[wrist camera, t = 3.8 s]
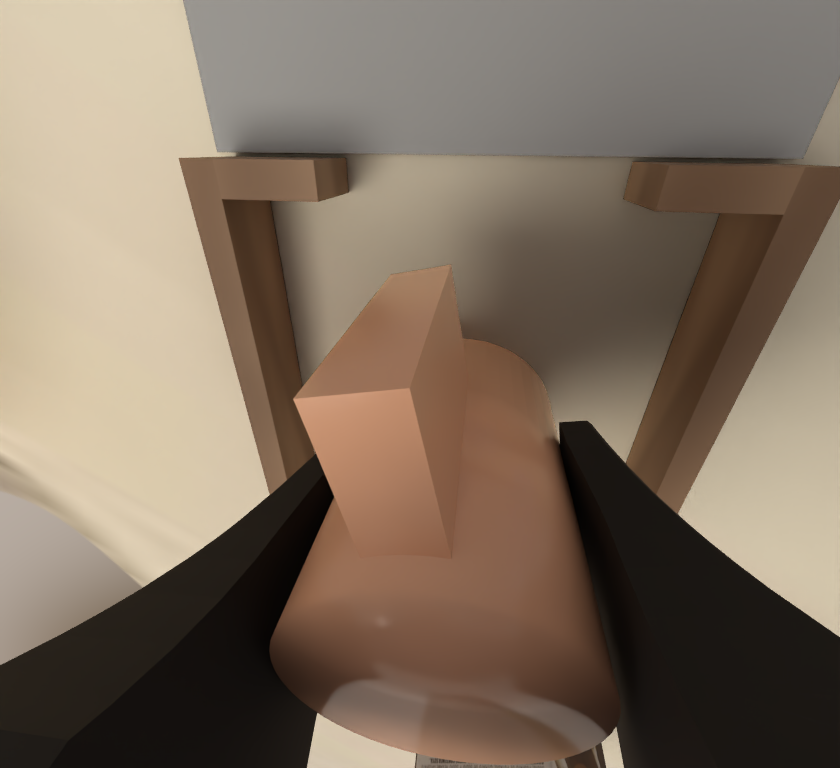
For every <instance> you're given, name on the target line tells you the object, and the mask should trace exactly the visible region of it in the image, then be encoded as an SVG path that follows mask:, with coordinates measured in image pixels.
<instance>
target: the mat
mask: <svg viewBox="0 0 840 768" xmlns="http://www.w3.org/2000/svg"><path fill="white" fill-rule="evenodd" d="M183 2H184V6H185V11H186V15H187V20H188V24H189V29H190V33H191V37H192V42H193V46H194V51H195V55H196V60H197V64H198V69H199V73H200V77H201V82H202V86H203V91H204V95H205V100H206V104H207V109H208V113H209V118H210V122H211V126H212V131H213V135H214V140H215V144H216V149H217V152H259V153H345V154H431V155H517V156H603V157H689V158H775V159H803V158H804V156H805V153H806V151H807V149H808V147H809V144H810V142H811V140H812V138H813V135H814V133H815V131H816V129H817V127H818V124H819V122H820V120H821V118H822V115H823V113H824V111H825V109H826V106H827V104H828V102H829V100H830V98H831V95H832V93H833V91H834V89H835V86H836V84H837V82H838V80H839V78H840V0H183Z"/></svg>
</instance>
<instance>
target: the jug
mask: <svg viewBox="0 0 840 768" xmlns="http://www.w3.org/2000/svg"><path fill="white" fill-rule="evenodd" d="M293 400H294V402H295V405H296V407H297V409H298V412H299V414H300V416H301V419H302V421H303V424H304V426H305V428H306V431H307V433H308V435H309V438H310V440H311V442H312V445H313V447H314V450H315V452H316V454H317V457H318V459H319V461H320V464H321V466H322V469H323V471H324V473H325V476H326V478H327V480H328V483H329V485H330V487H331V490H332V492H333V495H334V498H333V501H332V503H331V505H330V507H329V510H328V512H327V514H326V516H325V519H324V521H323V523H322V525H321V527H320V530H319V532H318V534H317V536H316V539H315V541H314V543H313V545H312V548H311V550H310V552H309V554H308V557H307V559H306V561H305V563H304V565H303V568H302V570H301V572H300V574H299V577H298V579H297V581H296V583H295V586H294V588H293V590H292V592H291V595H290V597H289V599H288V601H287V604H286V606H285V608H284V610H283V612H282V615H281V617H280V619H279V621H278V624H277V626H276V628H275V630H274V633H273V635H272V637H271V640H270V648H269V652H270V658H271V662H272V665H273V667H274V669H275V671H276V673H277V675H278V676H279V678H280V679H281V681H282V682H283V683H284V684H285V685H286V687H287V688H288V689H289V690H290V691H291V692H292V693H293V694H294V695H295V696H296V697H297V698H299V699H300V700H301V701H302V702H303V703H305V704H306V705H307V706H309V707H310V708H311V709H313V710H314V711H316V712H317V713H319V714H320V715H322V716H324V717H325V718H327V719H329V720H331V721H332V722H334V723H336V724H338V725H340V726H342V727H344V728H346V729H348V730H350V731H352V732H354V733H357V734H359V735H361V736H364V737H366V738H369V739H371V740H374V741H377V742H380V743H383V744H385V745H388V746H392V747H395V748H398V749H402V750H405V751H409V752H413V753H417V754H421V755H425V756H430V757H435V758H440V759H446V760H452V761H459V762H468V763H477V764H494V765H517V764H533V763H541V762H549V761H554V760H559V759H564V758H567V757H570V756H574V755H577V754H580V753H582V752H584V751H587V750H589V749H591V748H593V747H594V746H596V745H598V744H599V743H601V742H602V741H604V740H605V739H606V738H607V737H608V736H609V735H610V734H611V733H612V732H613V730H614V729H615V727H616V725H617V724H618V721H619V717H620V714H621V710H620V699H619V694H618V690H617V686H616V682H615V677H614V673H613V669H612V665H611V660H610V656H609V652H608V647H607V643H606V639H605V635H604V630H603V626H602V622H601V618H600V613H599V609H598V605H597V601H596V596H595V592H594V588H593V584H592V579H591V575H590V571H589V567H588V562H587V558H586V554H585V550H584V545H583V541H582V537H581V533H580V528H579V524H578V520H577V516H576V511H575V507H574V503H573V499H572V494H571V490H570V486H569V482H568V477H567V473H566V469H565V465H564V460H563V456H562V452H561V448H560V443H559V439H558V435H557V431H556V426H555V422H554V418H553V414H552V409H551V405H550V401H549V397H548V394H547V390H546V388H545V386H544V384H543V382H542V380H541V379H540V377H539V376H538V374H537V373H536V372H535V371H534V370H533V368H532V367H531V366H530V365H529V364H528V363H527V362H525V361H524V360H523V359H522V358H520V357H519V356H517V355H516V354H514V353H513V352H511V351H509V350H507V349H505V348H503V347H501V346H498V345H495V344H492V343H489V342H485V341H480V340H474V339H463V338H462V332H461V325H460V319H459V312H458V306H457V300H456V293H455V287H454V280H453V274H452V268H451V265H445V266H439V267H433V268H427V269H421V270H415V271H409V272H403V273H397V274H391V275H390V276H389V277H388V279H387V280H386V281H385V283H384V284H383V285H382V286H381V288H380V289H379V290H378V291H377V293H376V294H375V295H374V297H373V298H372V299H371V300H370V302H369V303H368V304H367V305H366V307H365V308H364V309H363V311H362V312H361V313H360V314H359V316H358V317H357V318H356V319H355V321H354V322H353V323H352V325H351V326H350V327H349V328H348V330H347V331H346V332H345V333H344V335H343V336H342V337H341V339H340V340H339V341H338V342H337V344H336V345H335V346H334V348H333V349H332V350H331V351H330V353H329V354H328V355H327V356H326V358H325V359H324V360H323V362H322V363H321V364H320V365H319V367H318V368H317V369H316V370H315V372H314V373H313V374H312V376H311V377H310V378H309V379H308V381H307V382H306V383H305V384H304V386H303V387H302V388H301V390H300V391H299V392H298V393H297V395H296V396H295V397H294V398H293Z"/></svg>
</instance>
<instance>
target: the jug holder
mask: <svg viewBox="0 0 840 768" xmlns="http://www.w3.org/2000/svg"><path fill="white" fill-rule="evenodd" d="M179 161H180V165H181V168H182V172H183V176H184V179H185V183H186V187H187V190H188V194H189V198H190V201H191V205H192V209H193V213H194V216H195V220H196V224H197V227H198V231H199V235H200V238H201V242H202V246H203V250H204V253H205V257H206V261H207V264H208V268H209V272H210V275H211V279H212V283H213V286H214V290H215V294H216V298H217V301H218V305H219V309H220V312H221V316H222V320H223V323H224V327H225V331H226V334H227V338H228V342H229V346H230V349H231V353H232V357H233V360H234V364H235V368H236V371H237V375H238V379H239V382H240V386H241V390H242V394H243V397H244V401H245V405H246V408H247V412H248V416H249V419H250V423H251V427H252V431H253V434H254V438H255V442H256V445H257V449H258V453H259V456H260V460H261V464H262V467H263V471H264V475H265V479H266V482H267V486H268V490H269V493H270V495H271V494H272V493H273V492H274V491H275V490H276V489H277V488H279V487H280V486H281V485H282V484H283V483H284V482H285V481H286V480H287V479H289V478H290V477H291V476H292V475H293V474H294V473H295V472H296V471H297V470H299V469H300V468H301V467H302V466H303V465H304V464H305V463H306V462H307V461H308V460H309V459H311V458H312V457H313V456H314V451H313V445H312V442H311V440H310V438H309V435H308V433H307V431H306V428H305V426H304V424H303V421H302V419H301V416H300V414H299V412H298V409H297V407H296V405H295V402H294V400H293V398H294V397H295V396H296V395H297V393H298V392H299V391H300V390H301V388H302V382H301V376H300V371H299V365H298V359H297V353H296V348H295V342H294V336H293V330H292V325H291V319H290V313H289V307H288V302H287V296H286V290H285V284H284V279H283V273H282V267H281V262H280V256H279V250H278V244H277V239H276V233H275V227H274V221H273V216H272V210H271V204H270V200H271V201H307V202H319V201H322V200H326V199H329V198H332V197H335V196H339V195H342V194H345V193H348V192H349V191H348V178H347V165H346V158H311V157H200V158H179ZM623 199H624V200H627V201H630V202H632V203H635V204H638V205H640V206H643V207H646V208H648V209H651V210H654V211H665V212H701V213H720V216H719V218H718V221H717V224H716V226H715V229H714V232H713V234H712V237H711V239H710V242H709V245H708V247H707V250H706V253H705V255H704V258H703V261H702V263H701V266H700V269H699V271H698V274H697V277H696V279H695V282H694V285H693V287H692V290H691V293H690V295H689V298H688V300H687V303H686V306H685V308H684V311H683V314H682V316H681V319H680V322H679V324H678V327H677V330H676V332H675V335H674V338H673V340H672V343H671V346H670V348H669V351H668V353H667V356H666V359H665V361H664V364H663V367H662V369H661V372H660V375H659V377H658V380H657V383H656V385H655V388H654V391H653V393H652V396H651V399H650V401H649V404H648V407H647V409H646V412H645V414H644V417H643V420H642V422H641V425H640V428H639V430H638V433H637V436H636V438H635V441H634V444H633V446H632V449H631V452H630V454H629V457H628V460H627V462H626V464H627V466H628V467H629V468H630V469H631V470H632V471H633V472H634V473H635V474H636V475H637V476H638V477H639V478H640V479H641V480H642V481H643V482H644V483H645V484H646V485H647V486H648V487H649V488H650V489H651V490H652V491H653V492H654V493H655V494H656V495H657V496H658V497H659V498H660V499H662V500H663V501H664V502H665V503H666V504H667V505H668V506H669V507H670V508H671V509H672V510H673V511H675V512H676V513H677V514H678V512H679V510H680V508H681V506H682V504H683V502H684V500H685V498H686V496H687V494H688V493H689V491H690V489H691V487H692V485H693V483H694V481H695V479H696V477H697V475H698V473H699V471H700V469H701V467H702V465H703V463H704V461H705V459H706V458H707V456H708V454H709V452H710V450H711V448H712V446H713V444H714V442H715V440H716V438H717V436H718V434H719V432H720V430H721V428H722V426H723V425H724V423H725V421H726V419H727V417H728V415H729V413H730V411H731V409H732V407H733V405H734V403H735V401H736V399H737V397H738V395H739V393H740V391H741V390H742V388H743V386H744V384H745V382H746V380H747V378H748V376H749V374H750V372H751V370H752V368H753V366H754V364H755V362H756V360H757V358H758V356H759V355H760V353H761V351H762V349H763V347H764V345H765V343H766V341H767V339H768V337H769V335H770V333H771V331H772V329H773V327H774V325H775V323H776V322H777V320H778V318H779V316H780V314H781V312H782V310H783V308H784V306H785V304H786V302H787V300H788V298H789V296H790V294H791V292H792V290H793V288H794V287H795V285H796V283H797V281H798V279H799V277H800V275H801V273H802V271H803V269H804V267H805V265H806V263H807V261H808V259H809V257H810V255H811V254H812V252H813V250H814V248H815V246H816V244H817V242H818V240H819V238H820V236H821V234H822V232H823V230H824V228H825V226H826V224H827V222H828V220H829V219H830V217H831V215H832V213H833V211H834V209H835V207H836V205H837V203H838V201H839V199H840V167H835V166H815V165H795V164H769V163H692V162H633V163H632V167H631V171H630V175H629V178H628V182H627V186H626V190H625V194H624V198H623Z"/></svg>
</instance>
